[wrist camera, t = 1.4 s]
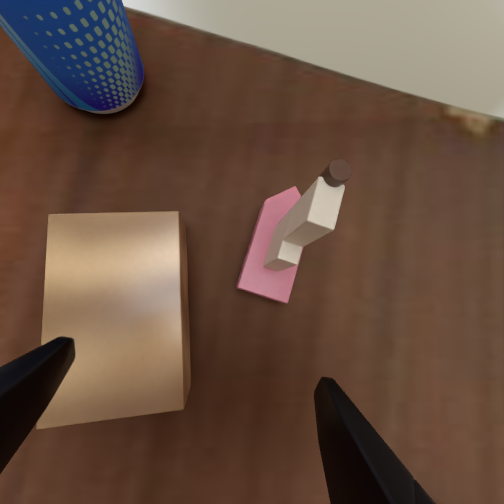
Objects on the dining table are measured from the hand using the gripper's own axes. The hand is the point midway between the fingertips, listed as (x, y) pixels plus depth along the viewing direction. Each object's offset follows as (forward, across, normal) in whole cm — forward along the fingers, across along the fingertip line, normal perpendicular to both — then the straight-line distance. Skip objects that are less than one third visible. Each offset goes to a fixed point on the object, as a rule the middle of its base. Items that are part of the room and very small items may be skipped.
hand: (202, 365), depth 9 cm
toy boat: (+15, -4, +1) cm, 16 cm away
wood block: (+11, +7, +7) cm, 15 cm away
